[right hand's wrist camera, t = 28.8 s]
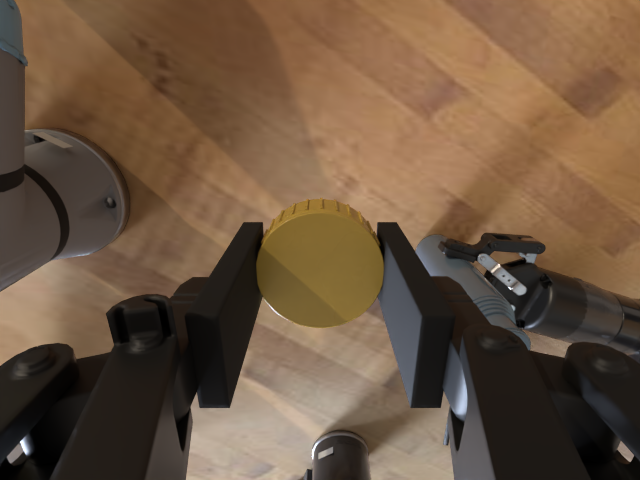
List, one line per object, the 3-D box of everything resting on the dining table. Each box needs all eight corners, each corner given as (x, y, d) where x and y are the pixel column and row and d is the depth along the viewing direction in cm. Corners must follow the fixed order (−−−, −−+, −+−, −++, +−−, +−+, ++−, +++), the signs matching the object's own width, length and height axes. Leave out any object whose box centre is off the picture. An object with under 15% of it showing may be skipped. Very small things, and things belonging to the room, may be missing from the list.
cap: (243, 218, 14) (233, 235, 12) (360, 181, 13) (366, 192, 11) (285, 316, 15) (281, 342, 14) (390, 286, 15) (399, 310, 13)
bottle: (457, 262, 47) (545, 364, 28) (420, 274, 47) (484, 381, 29) (448, 229, 45) (536, 315, 27) (410, 242, 46) (471, 335, 27)
